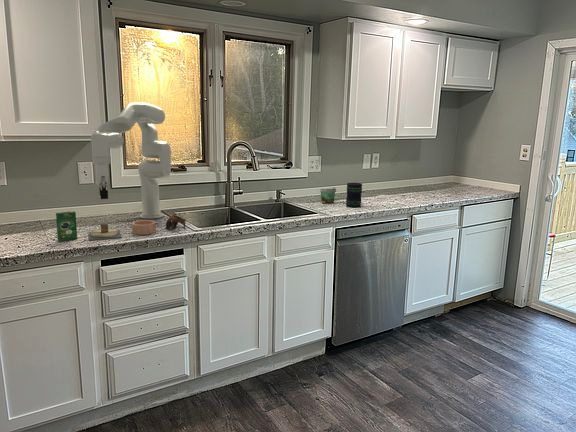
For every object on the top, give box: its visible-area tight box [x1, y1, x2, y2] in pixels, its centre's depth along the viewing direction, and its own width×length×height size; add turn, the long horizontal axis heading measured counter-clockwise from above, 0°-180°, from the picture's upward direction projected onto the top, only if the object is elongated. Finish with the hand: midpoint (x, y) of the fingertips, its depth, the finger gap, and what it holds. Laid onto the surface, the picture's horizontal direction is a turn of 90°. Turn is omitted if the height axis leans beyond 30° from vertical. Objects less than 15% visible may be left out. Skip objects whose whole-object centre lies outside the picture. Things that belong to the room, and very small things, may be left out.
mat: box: [88, 229, 123, 242], centre depth 219 cm, size 14×14×1 cm
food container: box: [319, 187, 337, 205], centre depth 306 cm, size 12×6×10 cm, turn 127°
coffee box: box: [55, 210, 78, 243], centre depth 209 cm, size 8×3×13 cm, turn 135°
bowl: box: [131, 219, 157, 236], centre depth 225 cm, size 11×11×5 cm
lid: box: [90, 222, 119, 238], centre depth 218 cm, size 12×12×5 cm
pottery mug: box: [165, 214, 186, 231], centre depth 233 cm, size 12×10×8 cm
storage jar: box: [345, 182, 363, 209], centre depth 297 cm, size 10×10×15 cm
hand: (103, 197), depth 214 cm, fingers open, 9 cm apart
